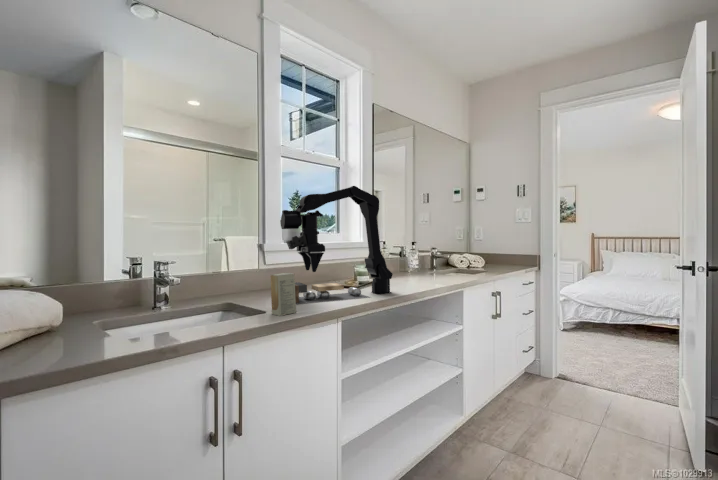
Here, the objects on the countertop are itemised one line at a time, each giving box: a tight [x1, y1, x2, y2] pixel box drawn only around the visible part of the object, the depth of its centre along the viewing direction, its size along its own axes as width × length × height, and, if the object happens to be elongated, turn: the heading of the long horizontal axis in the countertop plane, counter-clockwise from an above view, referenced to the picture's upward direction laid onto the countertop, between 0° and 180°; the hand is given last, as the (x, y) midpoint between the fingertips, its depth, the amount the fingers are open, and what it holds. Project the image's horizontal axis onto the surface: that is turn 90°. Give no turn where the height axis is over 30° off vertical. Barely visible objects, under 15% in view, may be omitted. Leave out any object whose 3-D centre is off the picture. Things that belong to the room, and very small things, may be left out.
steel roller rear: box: [347, 286, 362, 296], centre depth 146 cm, size 3×6×3 cm
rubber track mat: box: [296, 292, 372, 306], centre depth 141 cm, size 30×16×1 cm, turn 115°
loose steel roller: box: [302, 289, 317, 301], centre depth 138 cm, size 3×6×3 cm, turn 25°
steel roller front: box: [316, 291, 330, 299], centre depth 140 cm, size 3×6×3 cm, turn 24°
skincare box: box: [270, 272, 297, 317], centre depth 114 cm, size 6×4×12 cm
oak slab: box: [311, 282, 345, 292], centre depth 141 cm, size 10×8×2 cm
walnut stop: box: [295, 281, 308, 303], centre depth 136 cm, size 6×10×6 cm, turn 25°
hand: (310, 271), depth 138 cm, fingers open, 9 cm apart
